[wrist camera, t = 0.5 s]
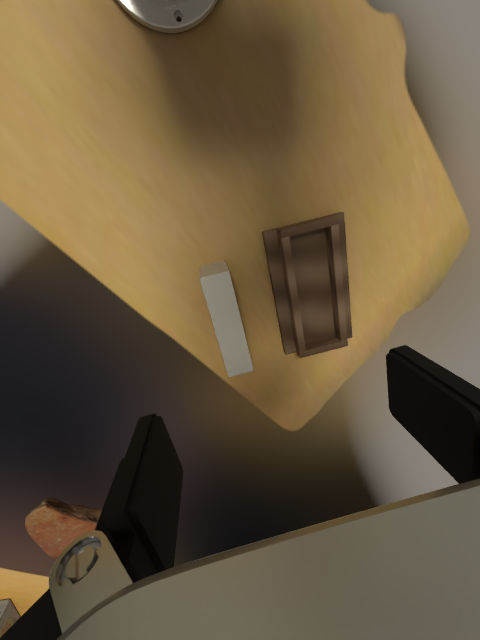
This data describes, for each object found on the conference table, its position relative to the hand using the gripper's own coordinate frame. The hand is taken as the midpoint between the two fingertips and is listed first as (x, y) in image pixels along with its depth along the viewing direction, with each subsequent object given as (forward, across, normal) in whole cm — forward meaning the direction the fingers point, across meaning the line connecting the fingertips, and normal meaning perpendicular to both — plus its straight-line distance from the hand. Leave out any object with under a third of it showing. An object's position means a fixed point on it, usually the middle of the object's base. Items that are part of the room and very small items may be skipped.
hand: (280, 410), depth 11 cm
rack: (+30, -11, +4) cm, 32 cm away
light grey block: (+30, +2, +4) cm, 30 cm away
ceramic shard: (+32, +39, +37) cm, 63 cm away
